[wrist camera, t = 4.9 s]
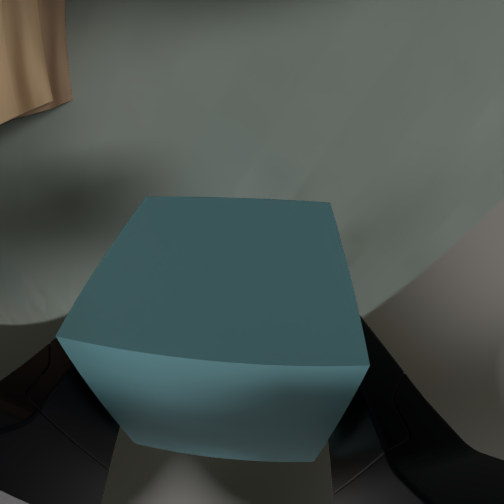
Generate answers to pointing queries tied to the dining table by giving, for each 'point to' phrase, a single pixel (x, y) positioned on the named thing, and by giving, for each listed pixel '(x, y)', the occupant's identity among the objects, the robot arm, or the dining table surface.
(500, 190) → the dining table surface
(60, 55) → the walnut slab
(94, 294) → the teal cube
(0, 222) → the dining table surface
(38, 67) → the oak slab
